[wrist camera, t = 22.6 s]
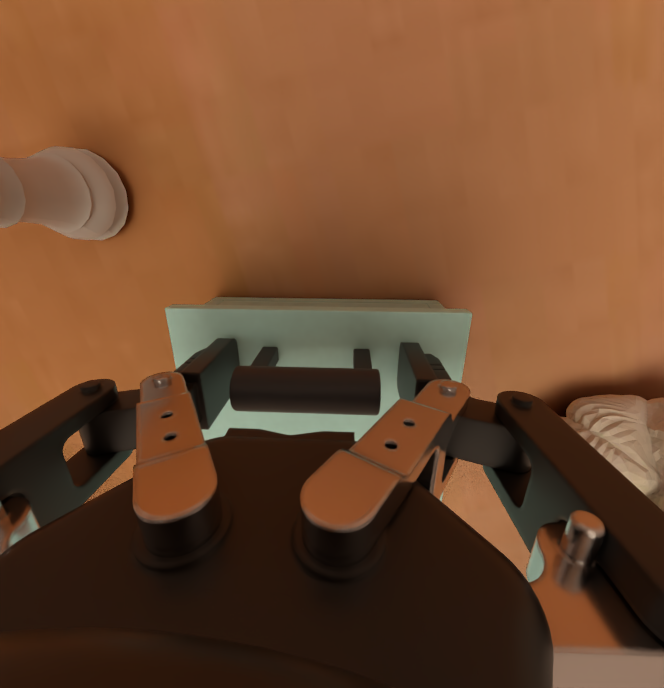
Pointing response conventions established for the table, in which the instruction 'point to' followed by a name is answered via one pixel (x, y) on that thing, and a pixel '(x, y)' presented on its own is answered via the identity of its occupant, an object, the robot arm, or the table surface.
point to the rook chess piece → (63, 193)
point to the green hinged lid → (315, 360)
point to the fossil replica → (625, 436)
